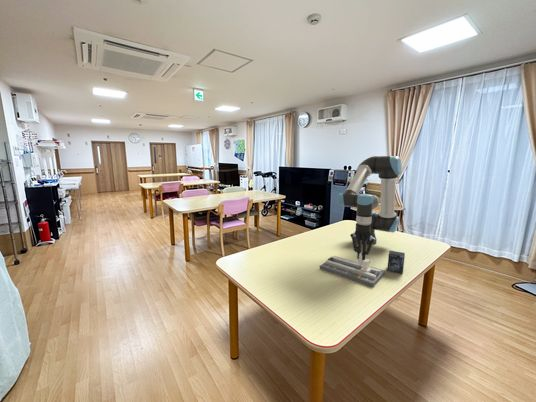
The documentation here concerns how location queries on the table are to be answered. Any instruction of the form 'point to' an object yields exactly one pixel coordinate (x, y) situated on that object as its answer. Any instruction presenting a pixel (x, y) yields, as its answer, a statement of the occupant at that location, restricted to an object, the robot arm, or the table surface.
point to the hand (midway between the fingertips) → (360, 264)
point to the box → (396, 261)
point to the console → (352, 270)
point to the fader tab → (366, 266)
